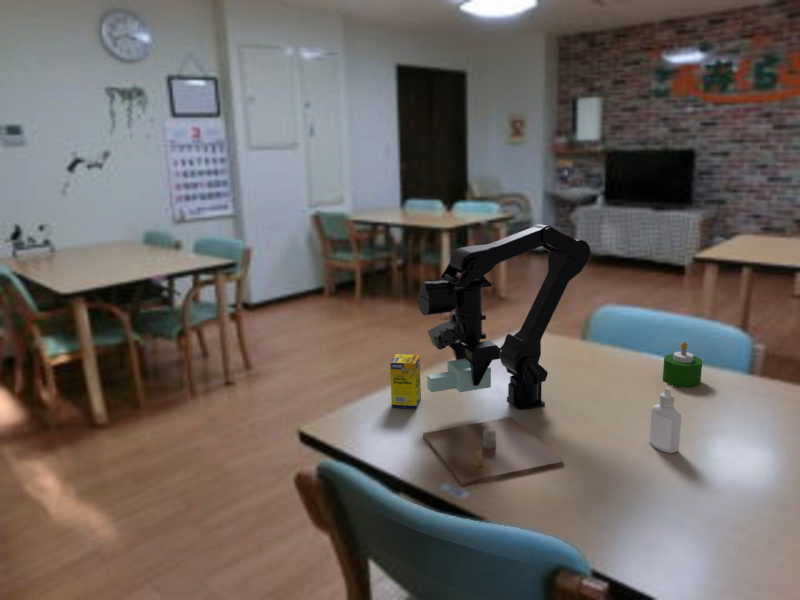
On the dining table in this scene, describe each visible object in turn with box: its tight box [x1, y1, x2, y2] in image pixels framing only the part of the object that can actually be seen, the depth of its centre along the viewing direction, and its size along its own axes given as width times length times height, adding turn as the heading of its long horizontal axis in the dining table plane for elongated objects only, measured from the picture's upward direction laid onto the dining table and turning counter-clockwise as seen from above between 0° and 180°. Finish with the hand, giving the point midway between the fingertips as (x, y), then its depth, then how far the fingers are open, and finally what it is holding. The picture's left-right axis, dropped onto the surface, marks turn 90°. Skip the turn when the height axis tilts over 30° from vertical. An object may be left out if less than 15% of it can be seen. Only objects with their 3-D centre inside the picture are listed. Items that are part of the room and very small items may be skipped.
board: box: [422, 416, 565, 487], centre depth 118 cm, size 20×20×4 cm
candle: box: [662, 341, 703, 389], centre depth 146 cm, size 8×8×10 cm
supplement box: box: [389, 353, 422, 410], centre depth 140 cm, size 6×6×11 cm
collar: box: [426, 359, 492, 393], centre depth 131 cm, size 12×7×4 cm, turn 107°
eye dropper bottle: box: [648, 387, 682, 454], centre depth 115 cm, size 4×6×12 cm
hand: (469, 379), depth 132 cm, fingers closed on collar, 7 cm apart
